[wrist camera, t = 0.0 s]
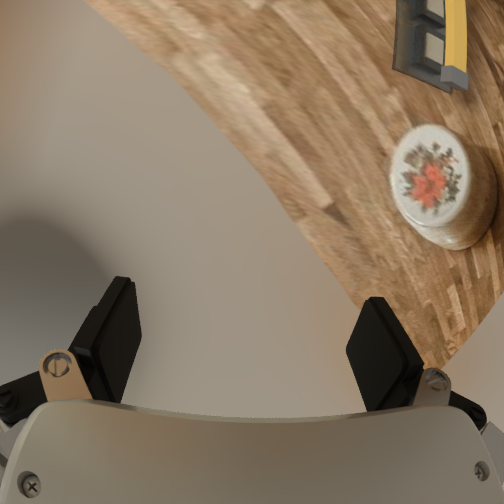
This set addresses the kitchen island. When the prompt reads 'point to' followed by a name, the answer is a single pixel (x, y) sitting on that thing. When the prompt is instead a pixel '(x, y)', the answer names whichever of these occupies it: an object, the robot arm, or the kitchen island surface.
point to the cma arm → (455, 46)
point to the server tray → (421, 40)
